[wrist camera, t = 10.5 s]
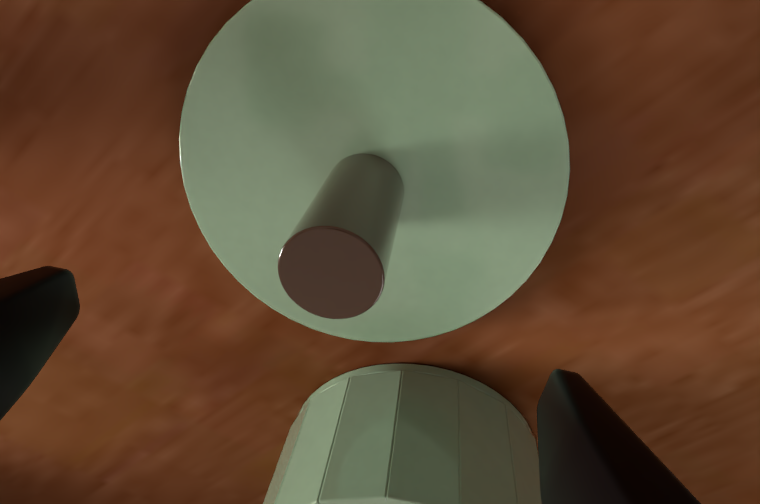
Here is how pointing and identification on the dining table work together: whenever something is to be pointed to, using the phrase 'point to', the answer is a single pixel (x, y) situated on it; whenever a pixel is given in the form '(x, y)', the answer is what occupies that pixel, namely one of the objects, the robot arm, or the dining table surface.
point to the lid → (375, 161)
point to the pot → (407, 442)
